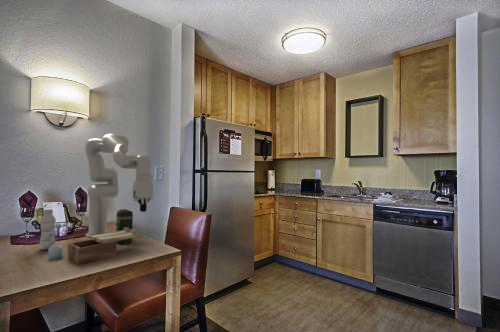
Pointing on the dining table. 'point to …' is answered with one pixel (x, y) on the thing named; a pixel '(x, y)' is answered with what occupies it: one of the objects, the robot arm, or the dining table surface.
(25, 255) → the dining table surface
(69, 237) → the dining table surface
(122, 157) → the robot arm
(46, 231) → the plastic bottle
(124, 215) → the coffee jar
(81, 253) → the box
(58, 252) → the blue cylinder with recess
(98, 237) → the lid
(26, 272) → the dining table surface
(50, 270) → the dining table surface
